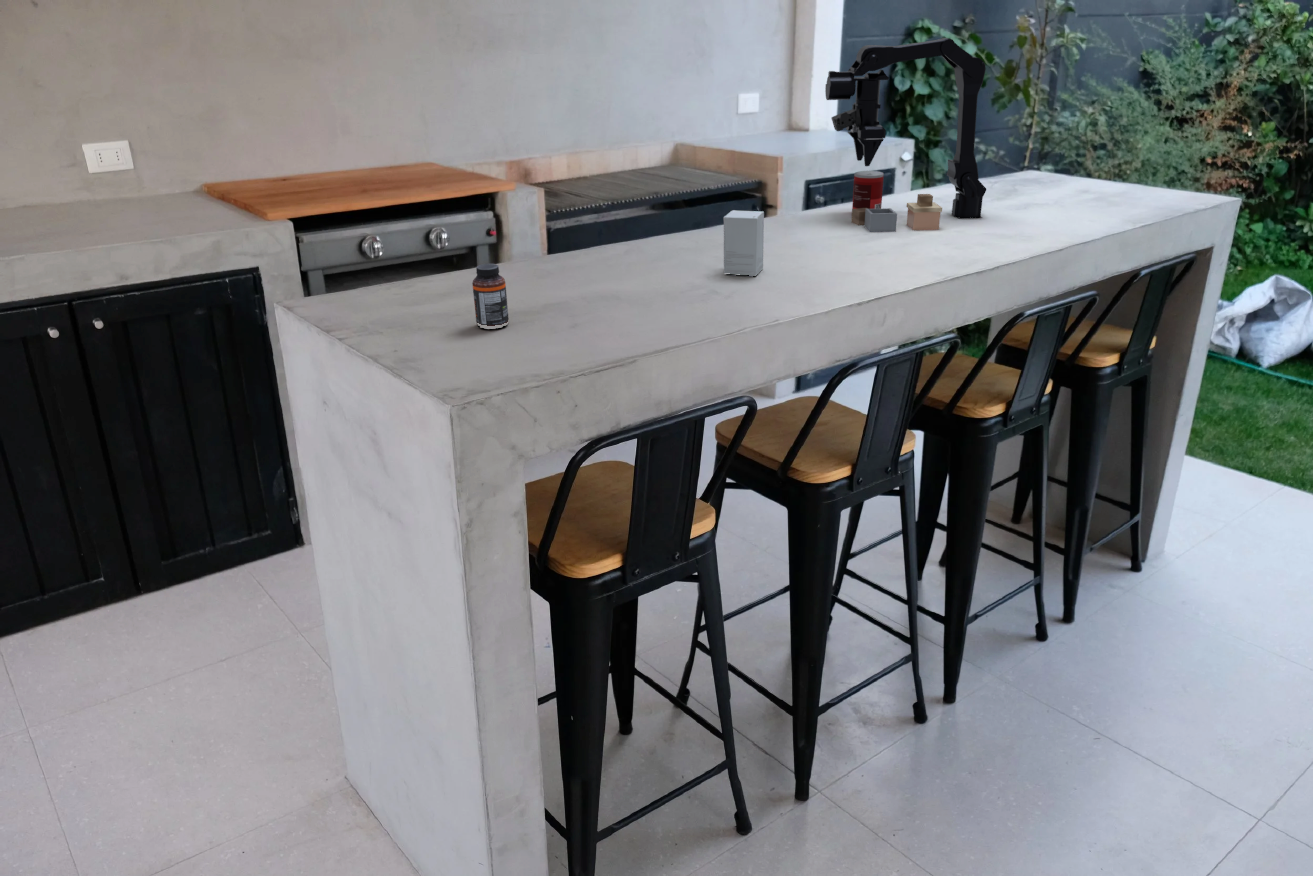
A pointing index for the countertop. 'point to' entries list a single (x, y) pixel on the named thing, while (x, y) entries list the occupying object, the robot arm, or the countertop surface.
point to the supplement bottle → (490, 296)
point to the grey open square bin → (880, 220)
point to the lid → (924, 204)
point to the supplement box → (743, 242)
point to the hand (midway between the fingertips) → (863, 163)
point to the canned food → (868, 190)
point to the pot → (923, 220)
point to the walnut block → (858, 216)
